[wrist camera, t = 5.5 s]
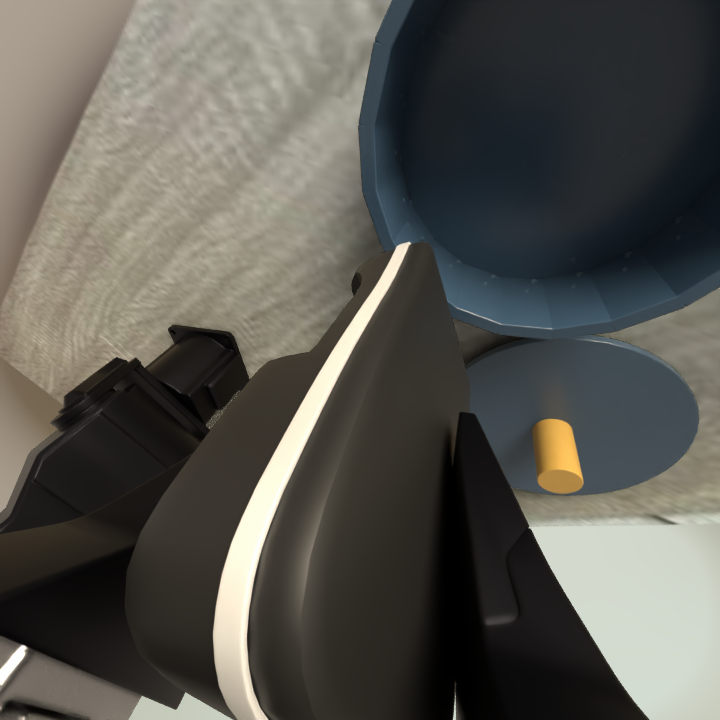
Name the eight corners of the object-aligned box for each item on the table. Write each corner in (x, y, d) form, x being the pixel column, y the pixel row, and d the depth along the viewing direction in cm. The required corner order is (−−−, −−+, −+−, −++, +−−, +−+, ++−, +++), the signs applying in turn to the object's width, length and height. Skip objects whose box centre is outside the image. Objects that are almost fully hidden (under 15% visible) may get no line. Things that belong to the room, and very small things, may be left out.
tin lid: (435, 459, 31) (426, 514, 27) (450, 316, 22) (440, 367, 18) (630, 500, 27) (652, 571, 23) (752, 343, 17) (824, 418, 14)
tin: (393, 277, 21) (370, 322, 17) (389, -90, 12) (338, -168, 8) (671, 294, 17) (722, 358, 13) (951, -227, 8) (1348, -494, 4)
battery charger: (329, 258, 13) (-1, 620, 4) (430, 226, 11) (229, 725, 2) (390, 397, 16) (281, 750, 8) (473, 389, 14) (455, 831, 6)
